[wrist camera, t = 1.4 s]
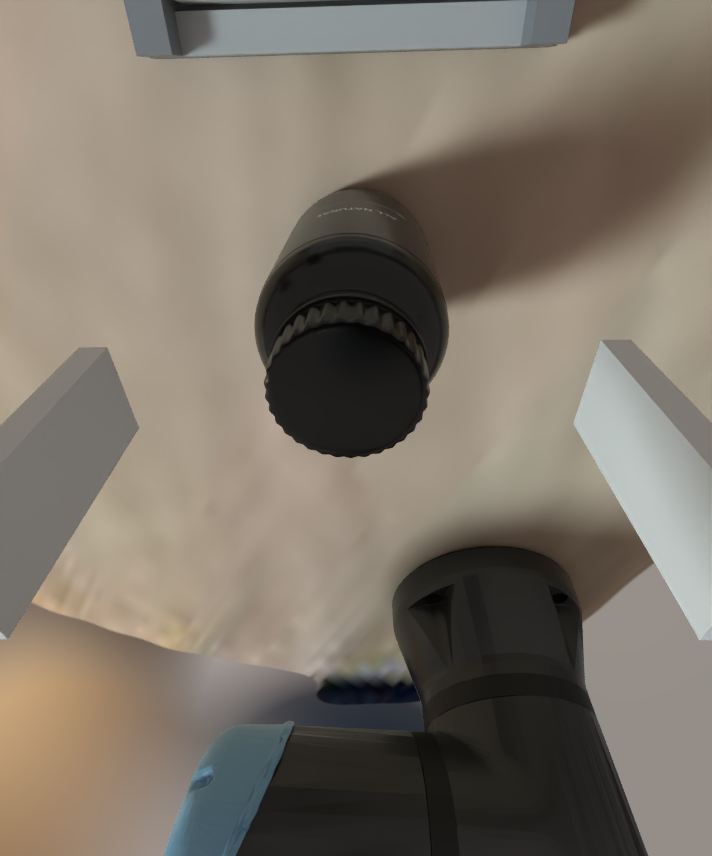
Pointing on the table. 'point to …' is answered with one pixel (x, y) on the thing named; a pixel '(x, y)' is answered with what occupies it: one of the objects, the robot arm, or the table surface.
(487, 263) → the table surface
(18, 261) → the table surface
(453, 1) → the pusher lane
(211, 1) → the plate
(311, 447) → the supplement bottle
